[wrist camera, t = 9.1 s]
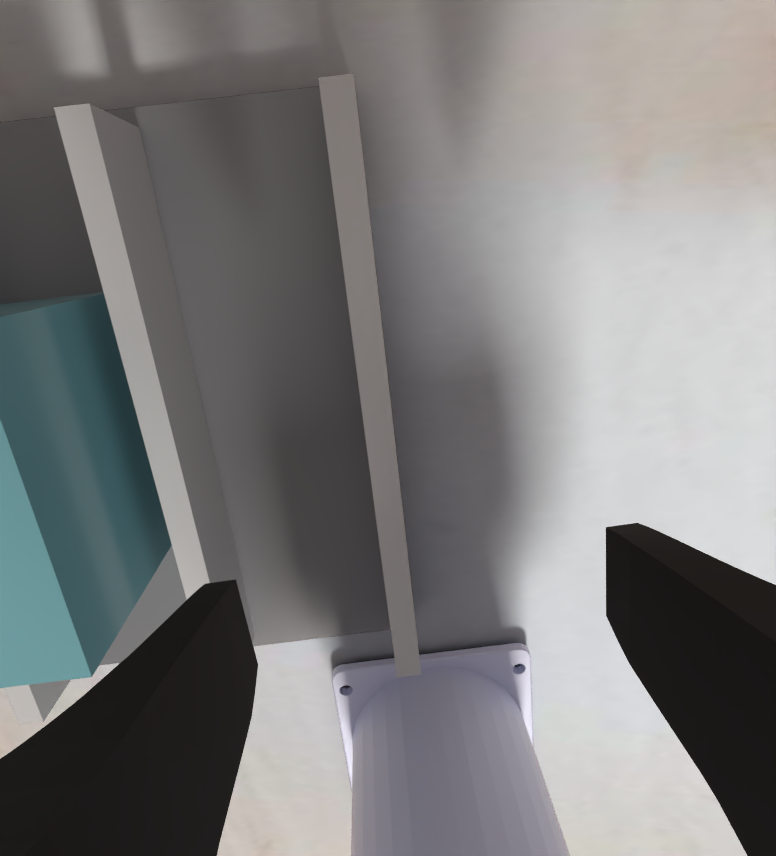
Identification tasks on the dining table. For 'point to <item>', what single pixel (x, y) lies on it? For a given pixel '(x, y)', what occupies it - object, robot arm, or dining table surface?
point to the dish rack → (231, 347)
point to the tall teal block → (69, 491)
